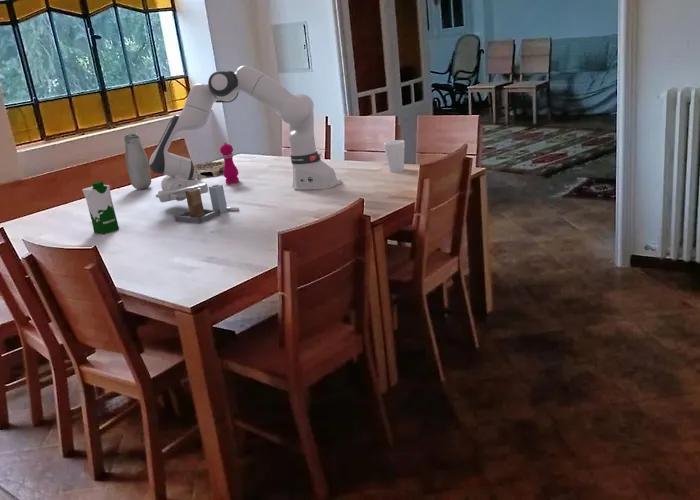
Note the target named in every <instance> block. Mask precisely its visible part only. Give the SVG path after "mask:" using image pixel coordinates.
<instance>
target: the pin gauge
mask: <svg viewBox="0 0 700 500" xmlns="http://www.w3.org/2000/svg"><path fill="white" fill-rule="evenodd" d="M227 210H228V211H227V212H236V211H237V212H239V211H240V208H239V207H231V206H230V207H229V206H227Z"/></svg>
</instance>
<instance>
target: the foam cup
mask: <svg viewBox="0 0 700 500" xmlns="http://www.w3.org/2000/svg"><path fill="white" fill-rule="evenodd" d="M405 144H406V143H405V140H403V139H393V140H388V141H385V142H383V150H384V152H385V157H386V161H387V165H388V168H389V172H390V173H401V172H403V171H404V169H405V147H406V146H405Z"/></svg>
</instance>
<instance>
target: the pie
mask: <svg viewBox="0 0 700 500" xmlns="http://www.w3.org/2000/svg"><path fill="white" fill-rule="evenodd" d="M193 166H194V172H196V171H197V174H198V175H199V177H200V179H203V178H208V176H207V175H203V174H201V173H208V172H210V173H212V176H213V177H220V176H222V174H223V170H224V166H225V162H224V161H223V160H219V161H208V162H204V163H203V162H202V163H198V164H197V163H196V164H195V165H194V164H193ZM221 173H222V174H221ZM220 174H221V175H220Z"/></svg>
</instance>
